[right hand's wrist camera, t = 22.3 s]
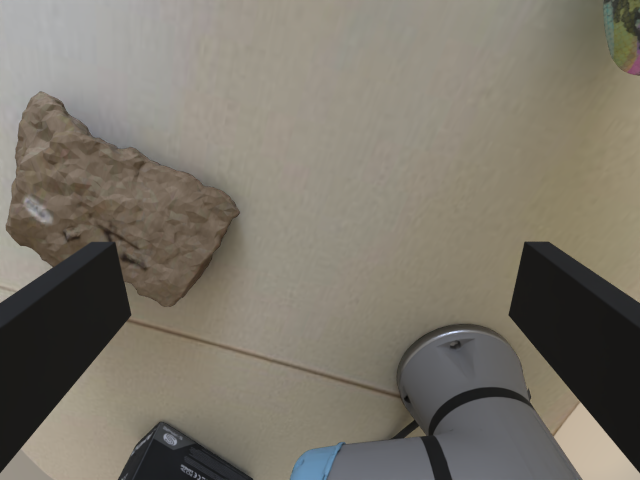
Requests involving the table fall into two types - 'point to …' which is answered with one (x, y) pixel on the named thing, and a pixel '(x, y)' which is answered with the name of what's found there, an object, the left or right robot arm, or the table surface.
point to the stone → (111, 204)
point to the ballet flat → (623, 33)
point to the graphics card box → (175, 459)
